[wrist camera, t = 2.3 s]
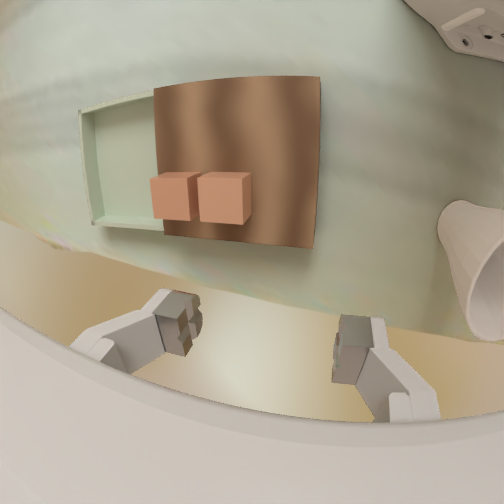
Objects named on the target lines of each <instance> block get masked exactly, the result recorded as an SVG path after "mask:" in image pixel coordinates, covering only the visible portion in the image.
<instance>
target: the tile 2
mask: <svg viewBox="0 0 504 504" xmlns="http://www.w3.org/2000/svg"><path fill="white" fill-rule="evenodd" d="M197 183H198V199H199V213H200V222H213V223H226V224H239V225H243V224H244V223H245V222H246V220H247V219H248V218H249V217H250V215H251V214H252V197H251V173H246V172H209V173H207V174H205V175H203V176H200V177H198V178H197Z"/></svg>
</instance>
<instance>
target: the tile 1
mask: <svg viewBox="0 0 504 504" xmlns="http://www.w3.org/2000/svg"><path fill="white" fill-rule="evenodd" d="M200 176H201V172H165V173H163V174H160V175H158V176H155V177H152V178H150V188H151V197H152V205H153V213H154V219H168V220H183V221H191V220H192V219H193V218H195V217H196V216H197V215H199V214H200V213H199V199H198V183H197V178H198V177H200Z"/></svg>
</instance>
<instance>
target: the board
mask: <svg viewBox="0 0 504 504" xmlns="http://www.w3.org/2000/svg"><path fill="white" fill-rule="evenodd" d="M320 104H321V88H320V77H313V76H253V77H236V78H224V79H214V80H205V81H197V82H190V83H183V84H177V85H171V86H165V87H160V88H155V89H154V123H155V143H156V157H157V170H158V175H160V174H163V173H165V172H201V176H203V175H205V174H207V173H209V172H246V173H251V197H252V214H251V215H250V217H249V218H248V219H247V220H246V222H245V223H244V224H243V225H239V224H226V223H213V222H200V214H199V215H197V216H196V217H195V218H193V219H192V220H191V221H183V220H168V219H163V226H164V234H165V235H173V236H184V237H195V238H206V239H217V240H227V241H238V242H248V243H259V244H269V245H279V246H289V247H299V248H309V249H313V242H314V234H315V222H316V209H317V193H318V175H319V152H320Z"/></svg>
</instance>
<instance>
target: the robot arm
mask: <svg viewBox="0 0 504 504" xmlns="http://www.w3.org/2000/svg"><path fill="white" fill-rule="evenodd" d="M404 1H405V2H406V3H407V4H408V5H409V6H410V7H411V8H412V9H413V10H415V11H416V12H417V13H418V14H419V15H421V16H422V17H423V18H424V19H426V20H427V21H428V22H429V23H431V24H432V25H433V26H434V27H435V28H436V30H437V31H438V33H439V34H440V36H441V37H442V39H443V40H444V42H445V43H446V44H447V46H448V47H449V48H450V49H451V50H453V51H455V52H457V53H463V54H469V55H475V56H480V57H485V58H489V59H494V60H498V61H502V62H504V0H404ZM462 40H463V41H464V42H465V43H466V45H464V43H463V41H462ZM199 306H200V299H199V296H198V295H196V294H191V293H186V292H181V291H176V290H171V289H165V288H161V289H159V291H157V293H156V294H155V295H154V296H153V297H152V298H151V299H150V300H149V301H148V302H147V303H146V304H145V306H144V307H143V308H142V309H141V310H140V311H139V310H135V311H132V312H130V313H127V314H125V315H122V316H119V317H117V318H114V319H112V320H109V321H106V322H104V323H101V324H98V325H96V326H94V327H91V328H88V329H86V330H85V331H84V332H83V333H82V334H81V335H80V336H79V337H78V338H77V339H76V340H75V341H74V342H73V343H72V344H71V345H70V346H69V347H67V346H65V345H63V344H61V343H60V342H58V341H56V340H54V339H52V338H50V337H48V336H46V335H45V334H43V333H41V332H40V331H38V330H36V329H34V328H33V327H31V326H29V325H28V324H26V323H24V322H23V321H21V320H19V319H18V318H16V317H14V316H13V315H12V314H10V313H9V312H7V311H6V310H4V309H3V308H1V307H0V504H504V410H502V411H497V412H492V413H487V414H482V415H476V416H469V417H462V418H455V419H446V420H441V417H440V411H439V406H438V401H437V396H436V392H435V390H434V389H433V388H432V387H431V386H430V385H429V384H428V383H427V382H426V381H425V380H424V379H423V378H422V377H421V376H420V375H419V374H418V373H417V372H416V371H415V370H414V369H413V368H412V367H411V366H410V365H409V364H408V363H407V362H406V361H405V360H404V359H403V358H402V357H401V356H400V355H399V354H398V353H397V352H396V351H395V350H394V349H390V347H389V341H388V336H387V331H386V326H385V321H384V318H383V317H372V316H369V317H365V316H353V315H342V314H341V317H340V321H339V332H338V333H337V334H336V339H335V344H334V351H333V359H334V364H333V368H332V382H333V383H341V384H352V385H355V387H356V388H357V390H358V391H359V393H360V395H361V396H362V398H363V399H364V401H365V403H366V404H367V406H368V407H369V409H370V411H371V412H372V414H373V415H374V417H375V419H374V421H373V422H372V423H367V422H345V421H330V420H319V419H309V418H301V417H294V416H287V415H280V414H273V413H267V412H262V411H257V410H251V409H246V408H242V407H237V406H232V405H228V404H224V403H220V402H215V401H211V400H208V399H204V398H200V397H196V396H193V395H189V394H186V393H183V392H180V391H176V390H173V389H170V388H167V387H163V386H161V385H158V384H155V383H152V382H149V381H146V380H143V379H141V378H138V377H136V376H133V375H130V374H131V373H133V372H135V371H136V370H138V369H140V368H141V367H143V366H145V365H146V364H148V363H150V362H151V361H153V360H155V359H156V358H158V357H160V356H161V355H163V354H164V353H165V352H168V353H172V354H176V355H180V356H184V357H185V356H186V355H187V353H188V352H189V350H190V348H191V347H192V345H193V344H192V339H194V338H196V337H198V335H199V333H200V331H201V327H202V313H201V312H200V311H199V310H198V307H199Z"/></svg>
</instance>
